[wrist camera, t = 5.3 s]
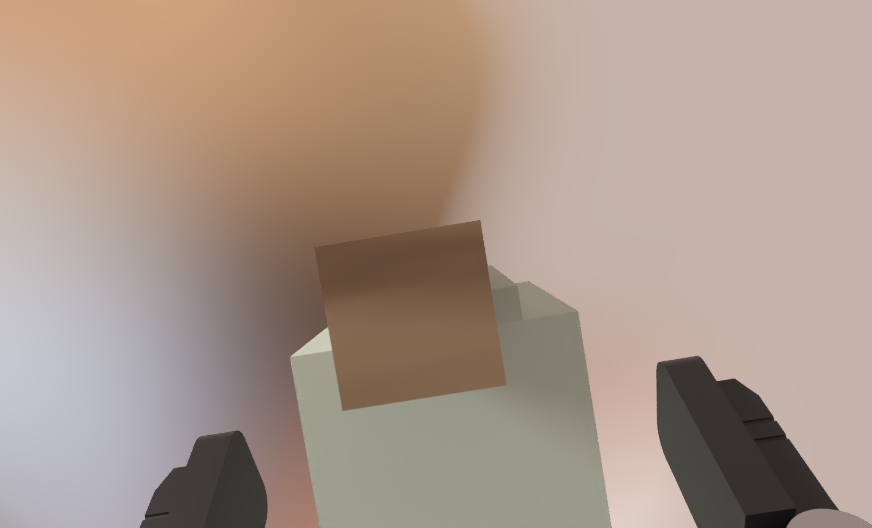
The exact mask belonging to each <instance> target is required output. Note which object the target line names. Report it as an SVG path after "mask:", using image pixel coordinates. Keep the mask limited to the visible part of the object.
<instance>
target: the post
mask: <svg viewBox="0 0 872 528" xmlns="http://www.w3.org/2000/svg"><path fill="white" fill-rule="evenodd" d="M488 272H489V279H490V285H491V291H492V297H493V304H494V310H495V316H496V322H497V328H498V335H499V341H500V347H501V353H502V360H503V366H504V372H505V378H506V385H505V386H498V387H492V388H486V389H479V390H473V391H467V392H460V393H454V394H448V395H441V396H435V397H429V398H422V399H416V400H410V401H403V402H397V403H391V404H384V405H378V406H372V407H365V408H359V409H353V410H346V411H342V405H341V400H340V394H339V388H338V382H337V376H336V370H335V365H334V359H333V353H332V347H331V341H330V335H329V330H328V327H327V328H326V329H325V330H324V331H322V332H321V333H320V334H319V335H317V336H316V337H315V338H314V339H312V340H311V341H310V342H308V343H307V344H306V345H305V346H303V347H302V348H301V349H300V350H298V351H297V352H296V353H295V354H293V355H292V356H291V357H290V360H291V366H292V371H293V377H294V383H295V388H296V394H297V400H298V405H299V412H300V417H301V423H302V429H303V434H304V440H305V446H306V452H307V458H308V463H309V469H310V475H311V481H312V486H313V491H314V498H315V503H316V509H317V515H318V521H319V526H320V528H612V527H611V521H610V514H609V508H608V501H607V495H606V489H605V483H604V476H603V469H602V463H601V457H600V451H599V444H598V437H597V430H596V424H595V418H594V411H593V405H592V398H591V392H590V385H589V380H588V372H587V366H586V359H585V354H584V347H583V340H582V334H581V327H580V321H579V315H578V311H577V310H576V309H574V308H572V307H570V306H569V305H567V304H565V303H564V302H562V301H561V300H559V299H557V298H555V297H554V296H552V295H551V294H549V293H547V292H546V291H544V290H542V289H541V288H539V287H537V286H535V285H534V284H532V283H531V282H529V281H528V282H522V283H516V284H515V283H514V282H512V281H511V280H510V279H508V278H507V277H506V276H504V275H503V274H502V273H500V272H499V271H498V270H496V269H495V268H494V267H492V266H488Z"/></svg>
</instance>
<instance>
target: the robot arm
mask: <svg viewBox="0 0 872 528" xmlns="http://www.w3.org/2000/svg"><path fill="white" fill-rule="evenodd" d="M656 372H657V373H656V374H657V376H656V377H657V427H658V434H659V438H660V443H661V446H662V449H663V452H664V455H665V457H666V460H667V462H668V464H669V466H670V468H671V470H672V473H673V475H674V477H675V479H676V481H677V484H678V486H679V488H680V490H681V492H682V495H683V497H684V499H685V501H686V503H687V505H688V508H689V510H690V512H691V514H692V516H693V519H694V521H695V523H696V525H697V527H698V528H872V525H871V524H869V523H868V522H866V521H864V520H863V519H860V518H859V517H857V516H854V515H852V514H849V513H846V512H842V511H839V509H838V508H837V507H836V506H835V504H834V503H833V502H832V500H831V499H830V497H829V496H828V495H827V493H826V492H825V490H824V489H823V487H822V486H821V484H820V483H819V482H818V480H817V479H816V477H815V476H814V474H813V473H812V471H811V470H810V469H809V467H808V466H807V464H806V463H805V461H804V460H803V458H802V457H801V456H800V454H799V453H798V451H797V450H796V448H795V447H794V446H793V444H792V443H791V442H790V440H789V439H787V438H786V435H785V433H784V431H783V430H782V428H781V427H780V425H779V424H778V423H777V421H774V418H773V415H772V414H771V412H770V411H769V410H768V408H767V407H766V405H765V404H764V403H763V401H762V399H761V398H760V397H759V395H757V394H756V393H754V392H753V391H751V390H750V389H749V388H747V387H746V386H744V385H743V384H741V383H740V382H739V381H737V380H736V379H728V380H722V381H716V380H715V378H714V376H713V375H712V373H711V372H710V370H709V369H708V367H707V365H706V364H705V362H704V361H703V360H702V358H701V357H699V356H694V357H687V358H681V359H676V360H669V361H663V362H659V363H658V364H657V370H656ZM266 519H267V495H266V490H265V486H264V483H263V481H262V479H261V476H260V474H259V471H258V469H257V467H256V465H255V462H254V459H253V458H252V454H251V452H250V450H249V447H248V445H247V442H246V440H245V438H244V436H243V434H242V433H241V432H240V431H232V432H226V433H220V434H213V435H207V436H201V437H199V438H198V439H197V440H196V442H195V444H194V447H193V450H192V452H191V455H190V458H189V460H188V463H187V466H186V467H179V468H174V469H173V470H172V471H171V473H170V474H169V475H168V476H167V477H166V479H165V480H164V481H163V482H162V483H161V484H160V486H159V487H158V488H157V489H156V490H155V492H154V494H153V497H152V499H151V502H150V504H149V506H148V509H147V511H146V514H145V520H143V521H142V523H141V526H140V528H265V524H266Z"/></svg>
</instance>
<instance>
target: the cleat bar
mask: <svg viewBox="0 0 872 528" xmlns="http://www.w3.org/2000/svg"><path fill="white" fill-rule="evenodd" d="M315 254H316V260H317V265H318V271H319V277H320V283H321V289H322V295H323V300H324V306H325V312H326V317H327V324H328V330H329V335H330V341H331V347H332V353H333V359H334V365H335V370H336V376H337V382H338V388H339V394H340V400H341V405H342V411H346V410H353V409H359V408H365V407H372V406H378V405H384V404H391V403H397V402H403V401H410V400H416V399H422V398H429V397H435V396H441V395H448V394H454V393H460V392H467V391H473V390H479V389H486V388H492V387H498V386H505V385H506V378H505V372H504V366H503V360H502V353H501V347H500V341H499V335H498V328H497V322H496V316H495V310H494V304H493V297H492V291H491V285H490V279H489V272H488V266H487V260H486V254H485V247H484V241H483V235H482V229H481V222H480V220H478V221H472V222H466V223H460V224H454V225H448V226H442V227H436V228H430V229H424V230H417V231H412V232H405V233H399V234H393V235H387V236H381V237H375V238H369V239H362V240H356V241H350V242H344V243H338V244H332V245H326V246H320V247H315Z"/></svg>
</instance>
